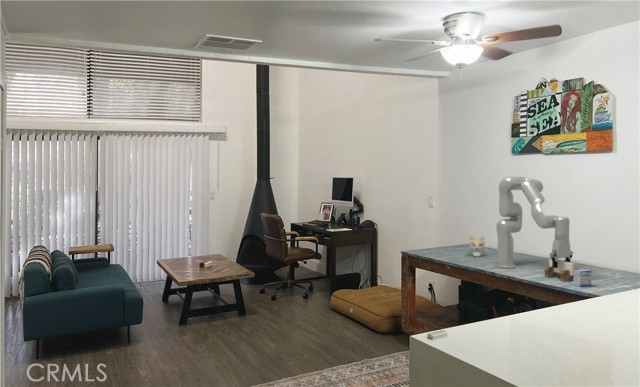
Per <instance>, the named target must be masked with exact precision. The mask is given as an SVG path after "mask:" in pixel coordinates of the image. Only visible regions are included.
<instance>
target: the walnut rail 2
mask: <svg viewBox="0 0 640 387" xmlns="http://www.w3.org/2000/svg"><path fill="white" fill-rule="evenodd" d="M575 270H580V269H579V268H575ZM559 281H560V282H570V281H574V276H570V275H569V270H560V276H559Z"/></svg>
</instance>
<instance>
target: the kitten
mask: <svg viewBox="0 0 640 387" xmlns="http://www.w3.org/2000/svg"><path fill="white" fill-rule="evenodd" d="M485 242H486V241H485V237H484V236H482V237H479V238H476V237H475V238H474V237H473V236H471V235H469V251H468V249H466V251H465V254H466V256H467V255H471V254H472V256H473V257H475V256H476V257H477V256H478V257H477V258H479V257H481V256H482V255H484V254H486V253H487V249H485ZM467 251H468V252H469V253H468V252H467Z"/></svg>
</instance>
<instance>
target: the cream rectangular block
mask: <svg viewBox="0 0 640 387" xmlns="http://www.w3.org/2000/svg"><path fill="white" fill-rule="evenodd" d="M557 261H558V268H554V272H557V273H560V270H569V275H570V276H574V270H575V269H576V268H575V267H576V263H575V262H571V261H570V262H565V260H564V261H563V260H559V259H558V260H557ZM548 266H551V267H552V259H551V258H550V259H548Z"/></svg>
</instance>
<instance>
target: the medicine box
mask: <svg viewBox="0 0 640 387" xmlns="http://www.w3.org/2000/svg"><path fill="white" fill-rule="evenodd" d="M573 286H575V287H579V288H584V287H591V286H592V270H590V269H587V268H586V269H582V268H581V269H579V270H574V280H573Z"/></svg>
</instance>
